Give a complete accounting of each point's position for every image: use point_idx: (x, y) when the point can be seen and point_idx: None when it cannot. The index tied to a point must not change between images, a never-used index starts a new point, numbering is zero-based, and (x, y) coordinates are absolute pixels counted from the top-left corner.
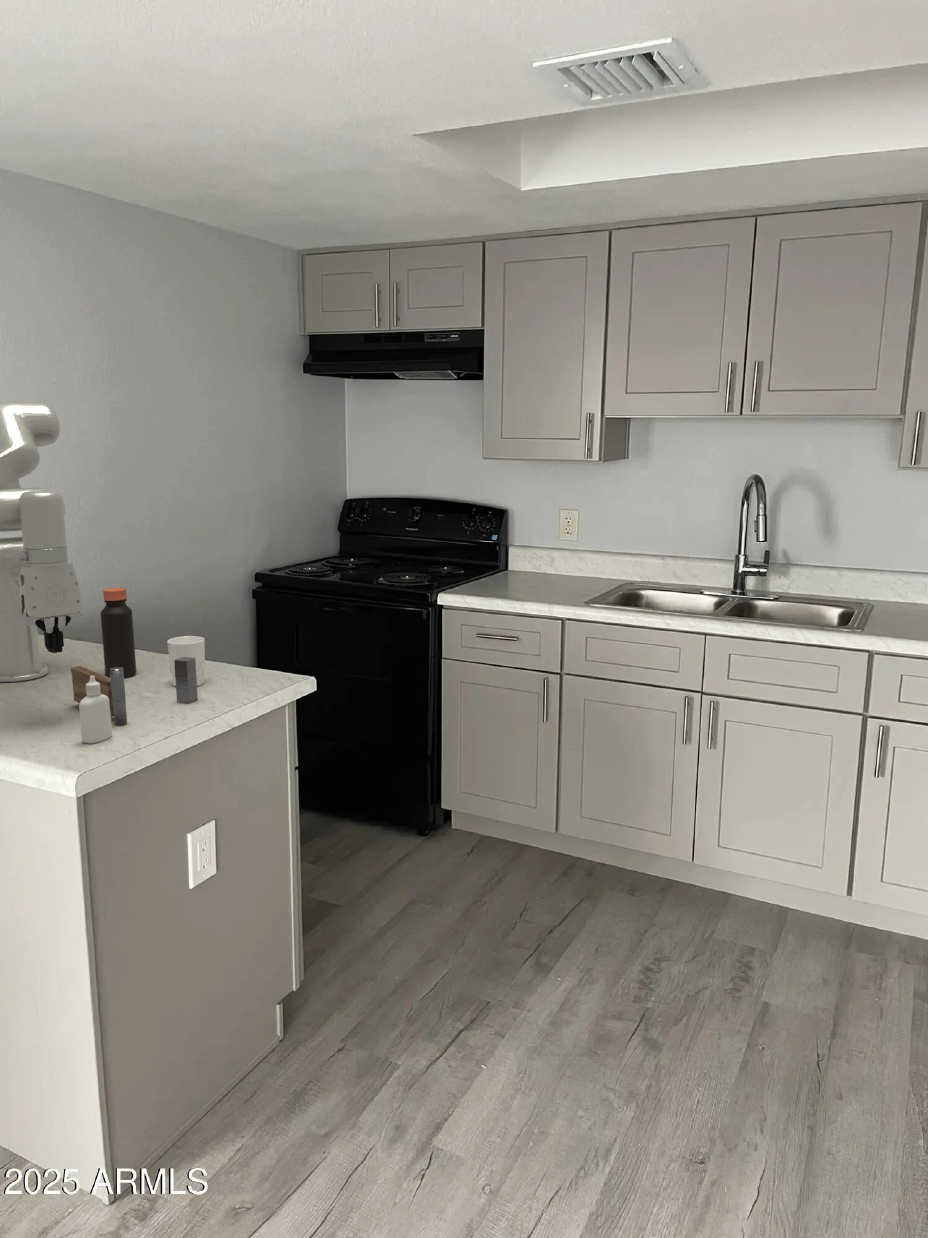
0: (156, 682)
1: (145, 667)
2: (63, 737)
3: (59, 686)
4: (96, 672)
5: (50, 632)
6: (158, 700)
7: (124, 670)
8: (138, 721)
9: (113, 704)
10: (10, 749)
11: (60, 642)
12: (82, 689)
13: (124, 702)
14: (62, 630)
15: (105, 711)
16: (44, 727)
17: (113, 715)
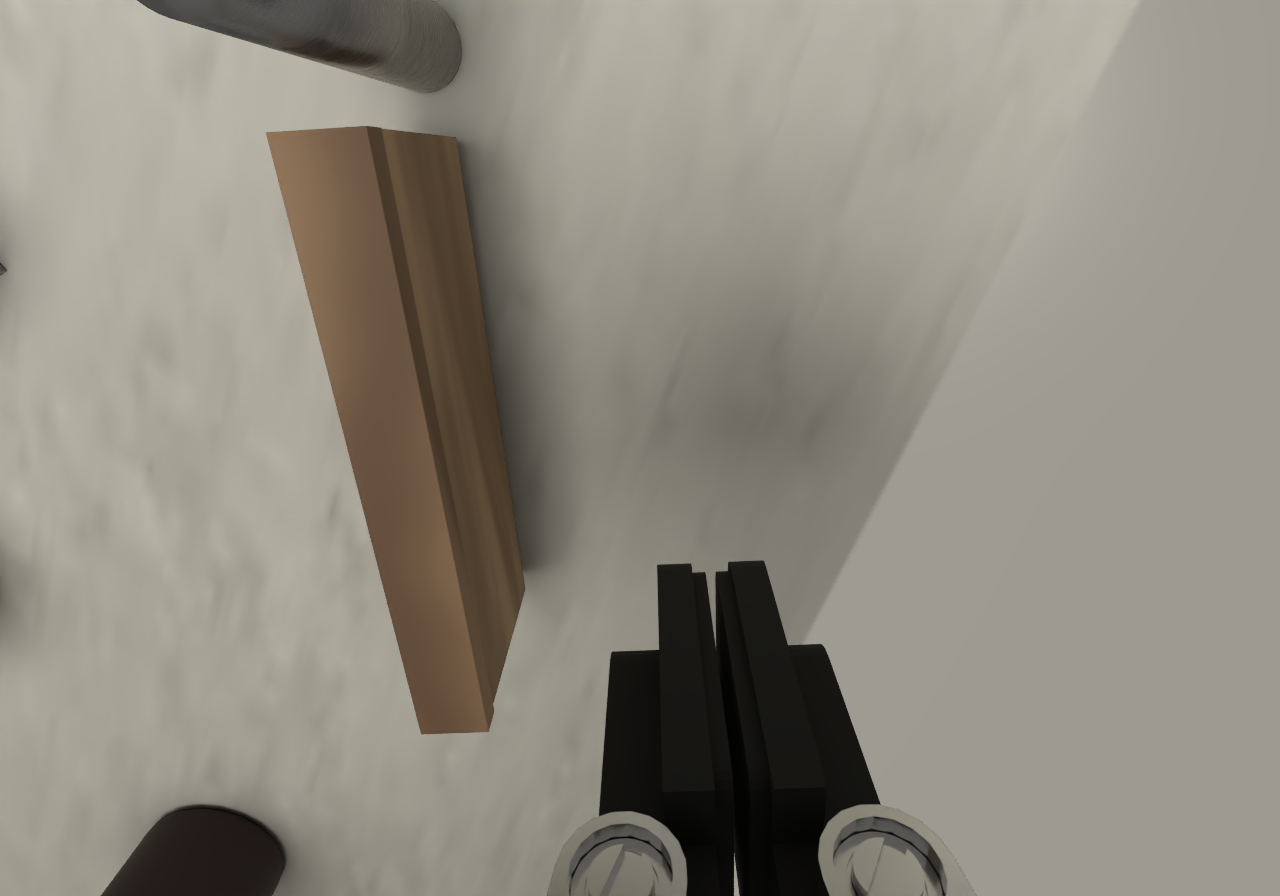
0: (79, 677)
1: (99, 887)
2: (802, 22)
3: (491, 851)
4: (365, 515)
5: (860, 815)
6: (111, 382)
7: (187, 841)
8: None
9: (413, 11)
10: (1135, 7)
11: (677, 645)
12: (489, 533)
13: None
14: (614, 831)
15: None
16: (792, 314)
17: (442, 53)
